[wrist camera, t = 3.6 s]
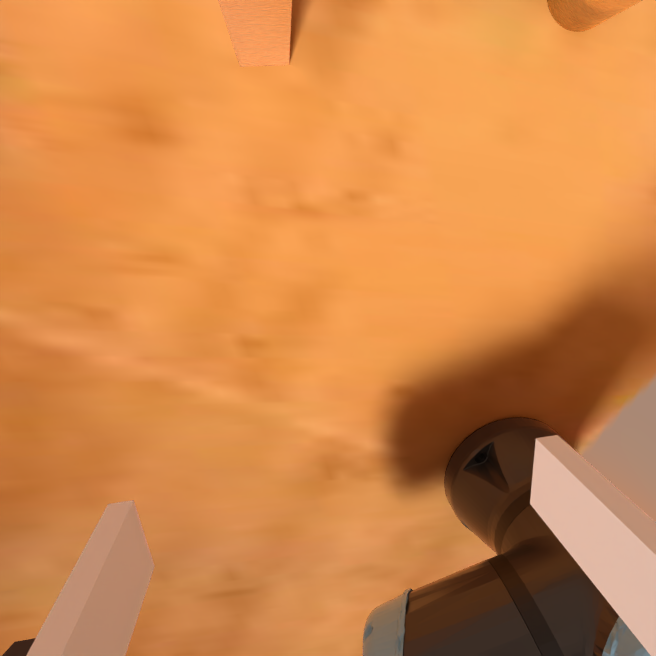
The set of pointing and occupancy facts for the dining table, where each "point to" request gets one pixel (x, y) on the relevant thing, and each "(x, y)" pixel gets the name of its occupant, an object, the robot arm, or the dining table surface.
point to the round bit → (586, 12)
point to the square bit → (259, 30)
